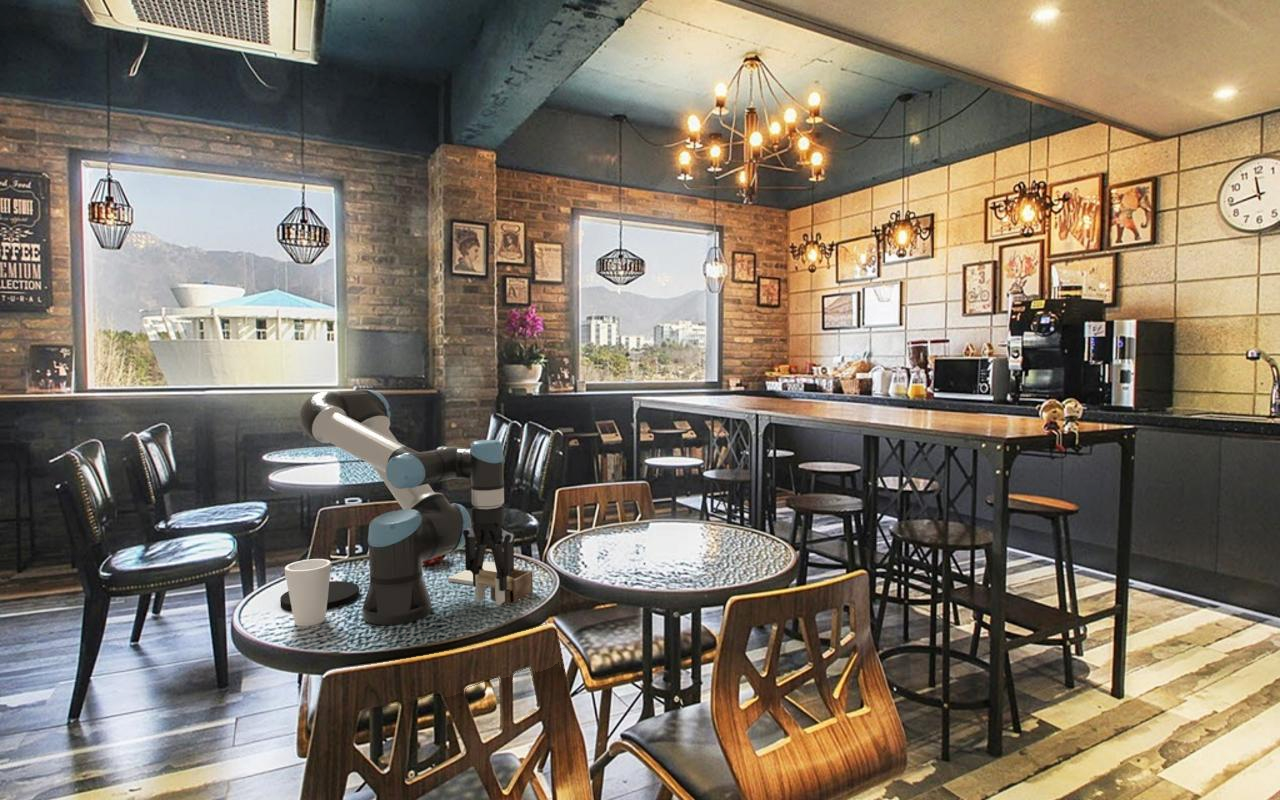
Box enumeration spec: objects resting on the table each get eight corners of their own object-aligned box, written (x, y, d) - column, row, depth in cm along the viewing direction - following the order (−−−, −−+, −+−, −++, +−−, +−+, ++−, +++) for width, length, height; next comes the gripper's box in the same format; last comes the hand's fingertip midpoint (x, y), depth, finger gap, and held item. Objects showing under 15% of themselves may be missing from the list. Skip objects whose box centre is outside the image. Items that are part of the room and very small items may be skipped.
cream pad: (484, 587, 178) (484, 583, 177) (448, 581, 182) (448, 577, 182) (519, 569, 192) (519, 566, 192) (484, 564, 197) (484, 561, 197)
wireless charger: (370, 588, 178) (370, 581, 178) (339, 613, 161) (339, 605, 160) (303, 588, 179) (303, 581, 179) (265, 613, 161) (265, 605, 161)
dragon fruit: (439, 561, 206) (431, 579, 195) (415, 546, 205) (405, 564, 193) (455, 539, 206) (448, 556, 194) (431, 524, 204) (422, 540, 192)
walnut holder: (513, 603, 165) (512, 581, 165) (488, 599, 168) (488, 577, 168) (532, 592, 173) (532, 571, 172) (509, 589, 176) (508, 568, 175)
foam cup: (321, 610, 162) (319, 556, 161) (340, 619, 156) (338, 563, 155) (279, 622, 154) (277, 566, 154) (298, 632, 149) (295, 573, 148)
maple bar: (493, 585, 160) (497, 572, 161) (476, 582, 162) (479, 569, 163) (524, 594, 171) (527, 582, 172) (508, 592, 173) (510, 580, 174)
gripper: (529, 505, 161) (530, 601, 162) (467, 499, 168) (469, 591, 170) (510, 511, 154) (512, 612, 155) (447, 505, 161) (449, 601, 163)
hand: (490, 601), depth 163 cm, fingers closed on maple bar, 5 cm apart
